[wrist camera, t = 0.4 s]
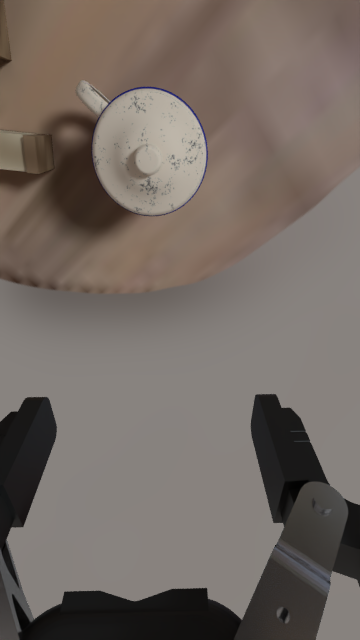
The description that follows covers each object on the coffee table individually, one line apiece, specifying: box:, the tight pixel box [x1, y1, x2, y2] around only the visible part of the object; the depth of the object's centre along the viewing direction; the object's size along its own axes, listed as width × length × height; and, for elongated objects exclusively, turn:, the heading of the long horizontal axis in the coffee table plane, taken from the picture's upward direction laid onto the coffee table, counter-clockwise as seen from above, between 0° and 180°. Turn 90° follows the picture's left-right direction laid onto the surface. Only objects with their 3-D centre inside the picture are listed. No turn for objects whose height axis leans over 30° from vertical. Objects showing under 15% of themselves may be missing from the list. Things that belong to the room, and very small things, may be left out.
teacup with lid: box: [76, 80, 208, 216], centre depth 28 cm, size 12×9×12 cm
